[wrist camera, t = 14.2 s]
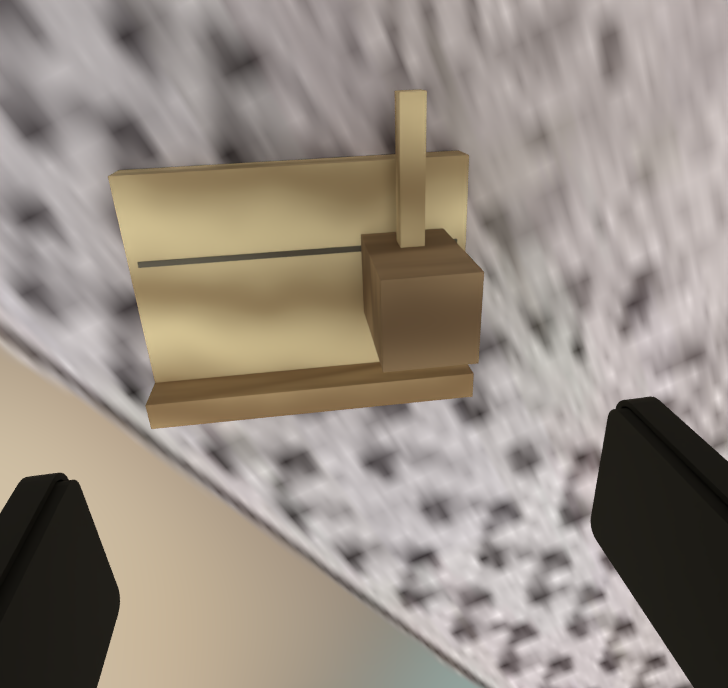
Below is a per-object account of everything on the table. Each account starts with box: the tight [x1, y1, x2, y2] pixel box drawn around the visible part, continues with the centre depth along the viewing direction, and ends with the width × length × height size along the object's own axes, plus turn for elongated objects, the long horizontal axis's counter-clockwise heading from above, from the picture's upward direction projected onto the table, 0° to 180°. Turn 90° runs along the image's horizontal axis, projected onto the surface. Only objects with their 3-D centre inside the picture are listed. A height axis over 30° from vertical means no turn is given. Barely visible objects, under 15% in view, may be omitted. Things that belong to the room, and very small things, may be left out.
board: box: [108, 151, 474, 429], centre depth 31 cm, size 13×18×4 cm
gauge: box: [361, 89, 484, 372], centre depth 27 cm, size 12×4×7 cm, turn 3°
